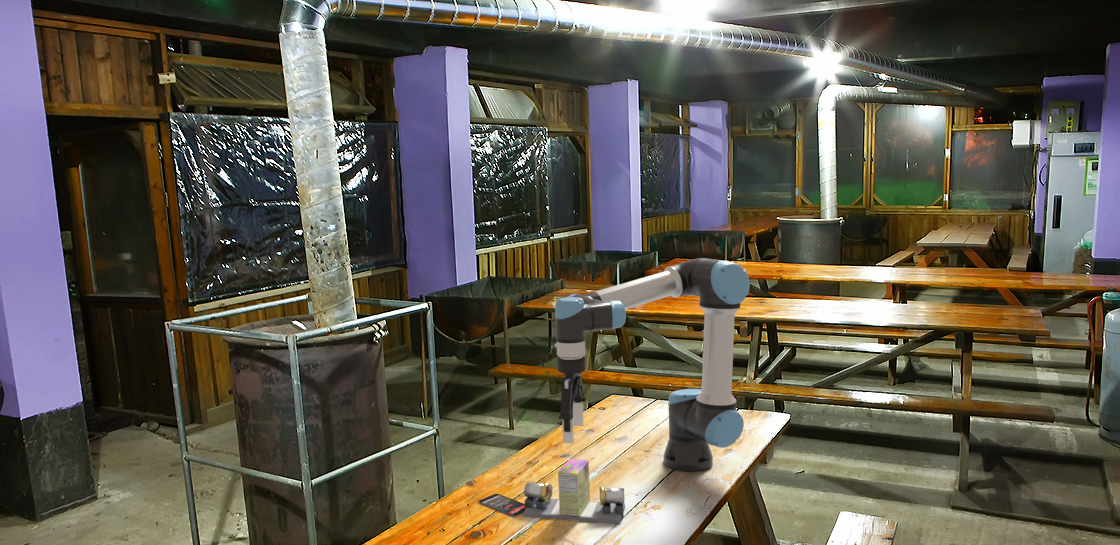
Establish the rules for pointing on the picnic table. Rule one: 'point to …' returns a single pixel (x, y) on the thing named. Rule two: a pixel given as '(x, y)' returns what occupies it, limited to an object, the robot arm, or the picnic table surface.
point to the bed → (590, 513)
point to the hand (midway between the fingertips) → (573, 434)
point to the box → (574, 487)
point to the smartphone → (503, 505)
